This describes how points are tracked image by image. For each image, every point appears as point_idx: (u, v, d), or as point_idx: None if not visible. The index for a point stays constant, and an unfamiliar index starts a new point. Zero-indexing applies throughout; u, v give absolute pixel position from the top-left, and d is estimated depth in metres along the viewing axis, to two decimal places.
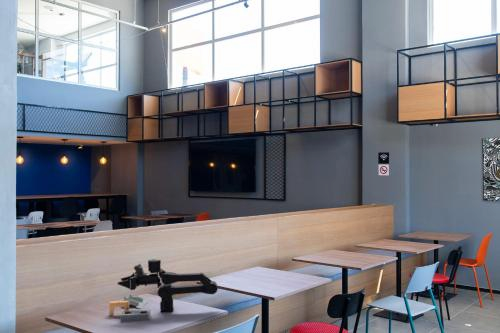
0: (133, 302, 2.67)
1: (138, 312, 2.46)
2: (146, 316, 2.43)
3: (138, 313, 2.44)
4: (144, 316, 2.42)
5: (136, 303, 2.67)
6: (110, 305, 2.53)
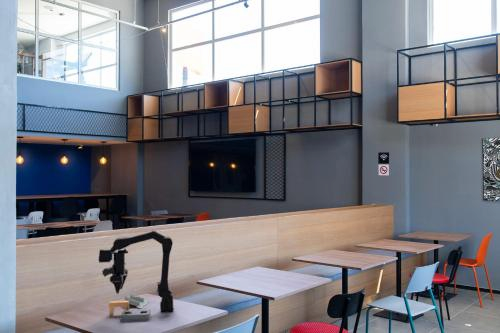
0: (134, 302, 2.67)
1: (138, 312, 2.46)
2: (146, 316, 2.43)
3: (138, 313, 2.44)
4: (144, 316, 2.42)
5: (137, 303, 2.67)
6: (110, 305, 2.53)
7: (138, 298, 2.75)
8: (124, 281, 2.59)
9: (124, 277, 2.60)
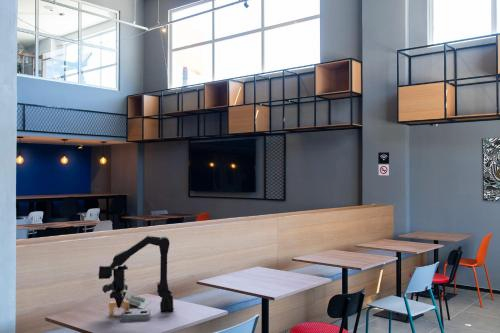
0: (135, 302, 2.67)
1: (138, 312, 2.46)
2: (146, 316, 2.43)
3: (138, 313, 2.44)
4: (144, 316, 2.42)
5: (138, 303, 2.67)
6: (110, 305, 2.53)
7: (139, 298, 2.74)
8: (123, 298, 2.56)
9: (123, 294, 2.56)
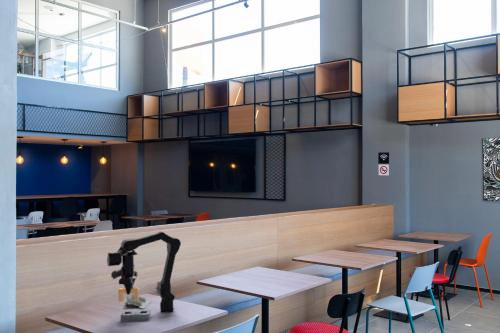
0: (136, 302, 2.67)
1: (138, 312, 2.46)
2: (146, 316, 2.43)
3: (138, 313, 2.44)
4: (144, 316, 2.42)
5: (139, 303, 2.67)
6: (119, 292, 2.48)
7: (140, 298, 2.74)
8: (132, 285, 2.51)
9: (132, 281, 2.52)
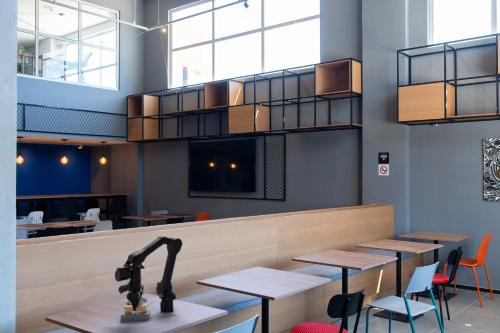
0: None
1: (138, 312, 2.46)
2: (146, 316, 2.43)
3: (138, 313, 2.44)
4: (144, 316, 2.42)
5: (140, 303, 2.67)
6: (126, 310, 2.44)
7: (141, 298, 2.74)
8: (140, 298, 2.51)
9: (140, 294, 2.51)
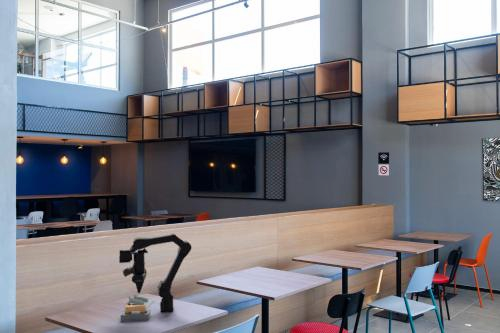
0: (138, 302, 2.67)
1: (138, 312, 2.46)
2: (146, 316, 2.43)
3: (138, 313, 2.44)
4: (144, 316, 2.42)
5: (141, 303, 2.67)
6: (126, 310, 2.44)
7: (142, 298, 2.74)
8: None
9: (143, 277, 2.61)
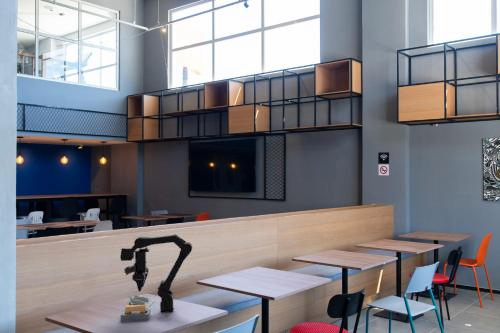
0: (139, 302, 2.67)
1: (138, 312, 2.46)
2: (146, 316, 2.43)
3: (138, 313, 2.44)
4: (144, 316, 2.42)
5: (142, 303, 2.67)
6: (126, 310, 2.44)
7: (143, 298, 2.74)
8: (145, 279, 2.63)
9: (145, 275, 2.63)
